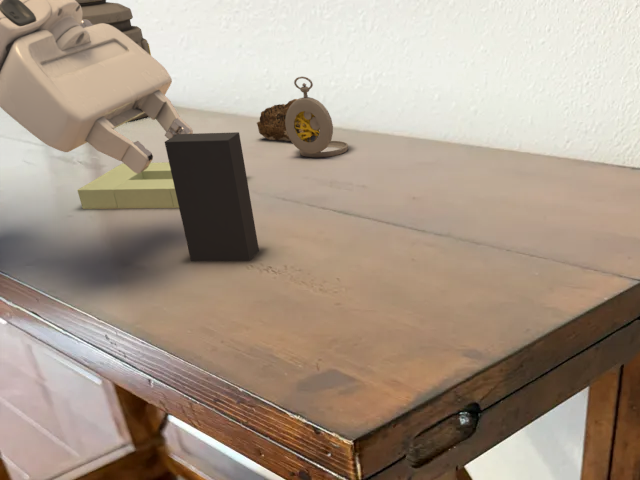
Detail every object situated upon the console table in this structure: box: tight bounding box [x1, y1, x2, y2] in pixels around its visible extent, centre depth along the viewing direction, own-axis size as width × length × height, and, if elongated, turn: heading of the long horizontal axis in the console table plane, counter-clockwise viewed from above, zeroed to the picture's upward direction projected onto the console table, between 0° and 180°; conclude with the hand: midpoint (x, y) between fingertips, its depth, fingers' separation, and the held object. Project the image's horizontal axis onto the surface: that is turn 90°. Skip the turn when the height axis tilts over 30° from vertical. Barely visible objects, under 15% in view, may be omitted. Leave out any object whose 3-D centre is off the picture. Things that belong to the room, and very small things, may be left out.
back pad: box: [164, 131, 260, 262], centre depth 76 cm, size 6×3×11 cm, turn 80°
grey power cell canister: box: [75, 0, 152, 122], centre depth 135 cm, size 19×19×30 cm
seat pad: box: [76, 161, 179, 210], centre depth 98 cm, size 16×12×2 cm
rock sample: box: [256, 98, 317, 142], centre depth 118 cm, size 10×8×9 cm
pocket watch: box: [285, 76, 349, 158], centre depth 107 cm, size 8×8×10 cm
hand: (168, 152), depth 74 cm, fingers open, 8 cm apart
